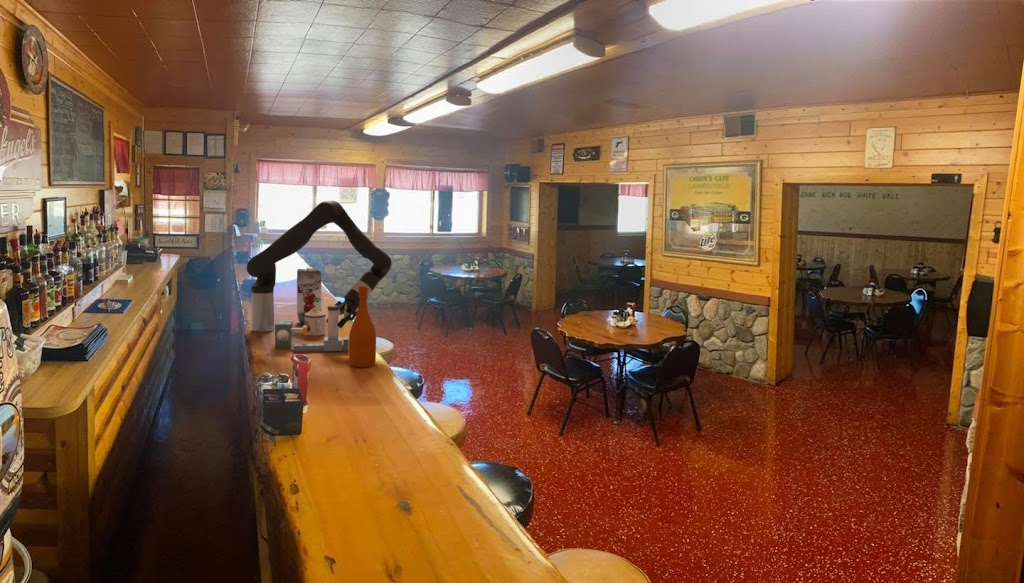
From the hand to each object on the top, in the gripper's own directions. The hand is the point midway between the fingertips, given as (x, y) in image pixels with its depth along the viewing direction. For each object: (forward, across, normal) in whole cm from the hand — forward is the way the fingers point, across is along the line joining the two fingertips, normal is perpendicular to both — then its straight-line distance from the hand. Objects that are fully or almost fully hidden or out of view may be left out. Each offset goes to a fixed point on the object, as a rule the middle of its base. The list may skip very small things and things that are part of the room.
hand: (333, 324), depth 258 cm
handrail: (+11, -3, +4) cm, 12 cm away
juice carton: (-4, -50, +19) cm, 54 cm away
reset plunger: (+10, -15, -2) cm, 18 cm away
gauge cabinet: (+16, -17, -1) cm, 24 cm away
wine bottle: (+9, +24, +6) cm, 27 cm away
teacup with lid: (+2, -28, +13) cm, 31 cm away
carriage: (+8, 0, +7) cm, 11 cm away
